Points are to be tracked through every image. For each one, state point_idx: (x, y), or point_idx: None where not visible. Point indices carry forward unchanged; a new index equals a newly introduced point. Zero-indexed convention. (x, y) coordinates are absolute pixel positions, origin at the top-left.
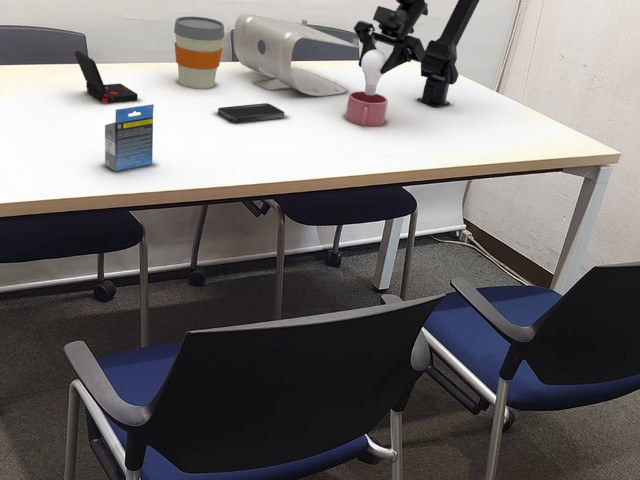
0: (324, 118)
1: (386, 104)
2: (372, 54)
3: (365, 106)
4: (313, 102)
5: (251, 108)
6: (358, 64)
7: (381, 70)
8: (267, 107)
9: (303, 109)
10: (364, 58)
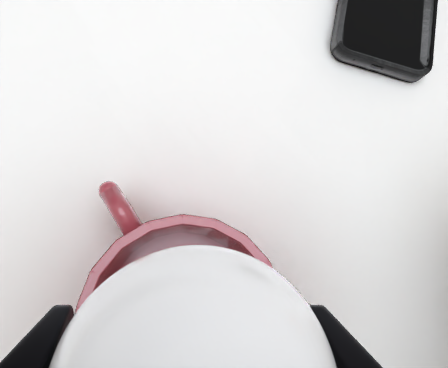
0: (269, 169)
1: None
2: (183, 304)
3: (126, 213)
4: (412, 280)
5: (411, 3)
6: (320, 306)
7: (54, 312)
8: (401, 48)
9: (368, 180)
10: (258, 265)
